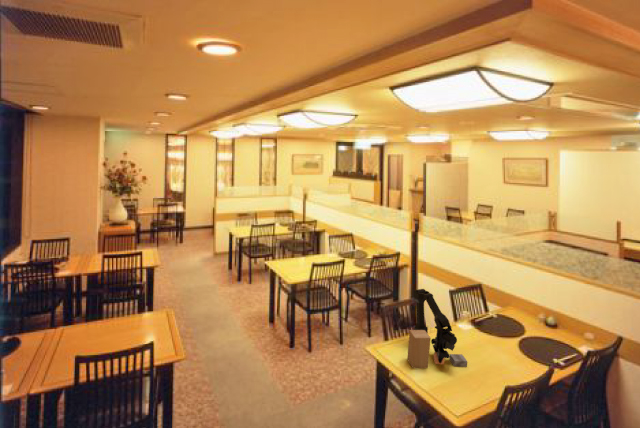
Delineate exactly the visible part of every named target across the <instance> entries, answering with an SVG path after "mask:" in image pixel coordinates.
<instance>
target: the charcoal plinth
mask: <svg viewBox="0 0 640 428" xmlns="http://www.w3.org/2000/svg"><path fill="white" fill-rule="evenodd" d="M448 360H449V362H450V363H451V364H452V366H453V367H455V368H456V367H458V368H463V367H464V368H467V367H468V360H467V359H466V358H465V356H464V355H463V354H462V353H461V354H460V353H459V354H458V353H456V354H455V353H454V354H453V353H449V358H448Z"/></svg>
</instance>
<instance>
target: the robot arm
mask: <svg viewBox="0 0 640 428" xmlns="http://www.w3.org/2000/svg"><path fill="white" fill-rule="evenodd" d="M412 294H413V299H414V300H415V303H416V306H415V307H416V324H415V325H414V328H413V330H425V331H426V332H427V334H428V329H429V328H428V326H427V325H426V324H425V301H426V303H427V305H428V307H429V308H430V311H431V312H432V314H433V317H434V319H433V320H434V323H435V326H434V329H436V335H435V336H434V338H431V339H430V344H432V348H433V350H434V352H437V357H438V361H439V363H441V362H442V360H443V358H444V359H449V356H450V353H449V352H448V350H450V351H452V352H453V351H454V349H455V347H456V344H457V342H458V338H457V337H456V334H455V333H453V332H452V331H453V329H452V326H451V323H450V321H449V319H448V317H447V316H446V315H445V314H444V313H443V312H442V310H441V309H440V307H439V305H438V304H437V301H436V300H435V298H434V295H433V293H431V292H430V291H427V290H426V289H424V288H417V289H415V290H413V293H412ZM447 349H448V350H447Z"/></svg>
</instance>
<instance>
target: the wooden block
mask: <svg viewBox="0 0 640 428" xmlns="http://www.w3.org/2000/svg"><path fill="white" fill-rule="evenodd" d="M431 340H432V338H431V336H430V335H429V334H428V333H427V332H426V331H425V330H414V329H409V333H408V349H407V356H406V357H407V362H408V363H409V364H410V367H411V368H412V369H421V368H423V369H424V368H425V369H428V367H429V359H430V358H429V357H430V347H431Z"/></svg>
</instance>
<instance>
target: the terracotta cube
mask: <svg viewBox="0 0 640 428" xmlns="http://www.w3.org/2000/svg"><path fill="white" fill-rule="evenodd" d="M433 361H434V363H435V364H436V365H445V358H443V360H442V362H441V363H439V361H438V357H437V352H435V351H434V353H433Z"/></svg>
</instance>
